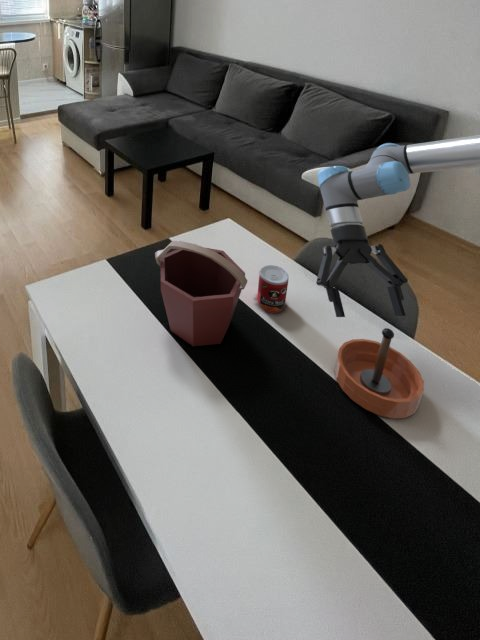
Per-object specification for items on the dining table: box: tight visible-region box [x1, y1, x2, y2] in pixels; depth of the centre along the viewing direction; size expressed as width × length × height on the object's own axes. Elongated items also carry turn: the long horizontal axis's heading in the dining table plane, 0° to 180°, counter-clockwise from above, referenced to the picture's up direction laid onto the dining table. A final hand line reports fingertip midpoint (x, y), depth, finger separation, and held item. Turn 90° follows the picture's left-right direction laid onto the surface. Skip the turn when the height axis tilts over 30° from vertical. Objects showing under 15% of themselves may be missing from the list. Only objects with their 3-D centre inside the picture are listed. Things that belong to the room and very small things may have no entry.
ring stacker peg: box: [360, 327, 395, 396], centre depth 97 cm, size 6×6×17 cm
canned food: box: [256, 264, 290, 314], centre depth 125 cm, size 8×8×11 cm
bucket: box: [154, 240, 249, 347], centre depth 118 cm, size 24×22×25 cm
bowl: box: [334, 338, 425, 419], centre depth 100 cm, size 16×16×6 cm
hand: (370, 316), depth 101 cm, fingers open, 13 cm apart
